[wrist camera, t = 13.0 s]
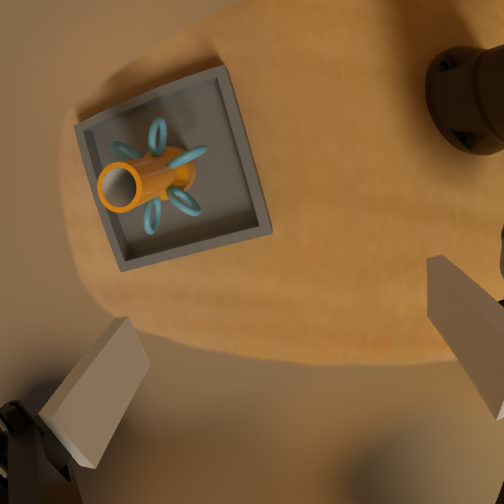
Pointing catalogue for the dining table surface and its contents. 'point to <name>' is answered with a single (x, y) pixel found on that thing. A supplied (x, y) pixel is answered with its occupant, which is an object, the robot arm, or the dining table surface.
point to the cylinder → (150, 177)
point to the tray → (207, 165)
